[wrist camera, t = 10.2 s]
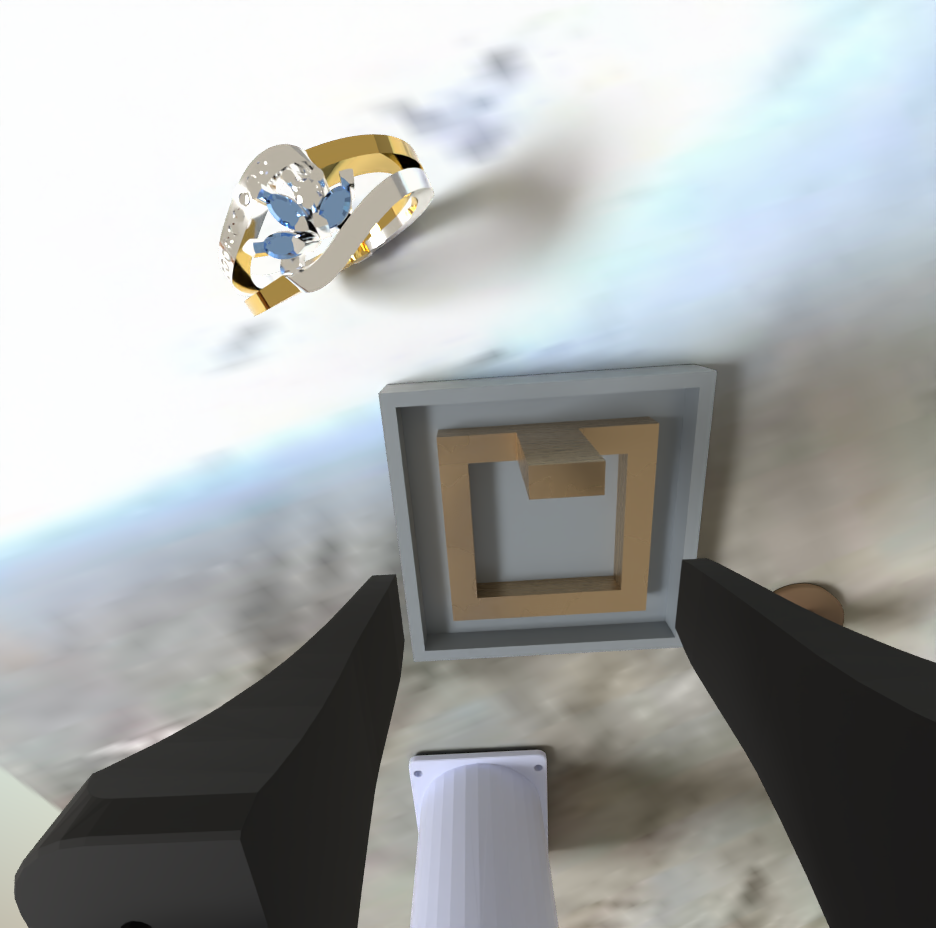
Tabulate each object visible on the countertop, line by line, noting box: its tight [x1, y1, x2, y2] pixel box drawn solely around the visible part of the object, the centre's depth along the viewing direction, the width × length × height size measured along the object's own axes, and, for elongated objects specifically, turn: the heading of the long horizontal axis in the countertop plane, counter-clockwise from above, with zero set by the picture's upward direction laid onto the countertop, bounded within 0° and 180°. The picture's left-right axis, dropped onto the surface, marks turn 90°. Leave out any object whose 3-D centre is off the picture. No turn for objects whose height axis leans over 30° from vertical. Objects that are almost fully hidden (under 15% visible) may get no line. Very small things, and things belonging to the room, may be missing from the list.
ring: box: [218, 134, 434, 316], centre depth 15 cm, size 7×3×8 cm, turn 117°
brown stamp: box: [774, 583, 844, 626], centre depth 22 cm, size 4×4×5 cm
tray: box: [379, 364, 717, 662], centre depth 21 cm, size 13×13×2 cm
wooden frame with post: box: [436, 416, 659, 621], centre depth 19 cm, size 9×9×5 cm
